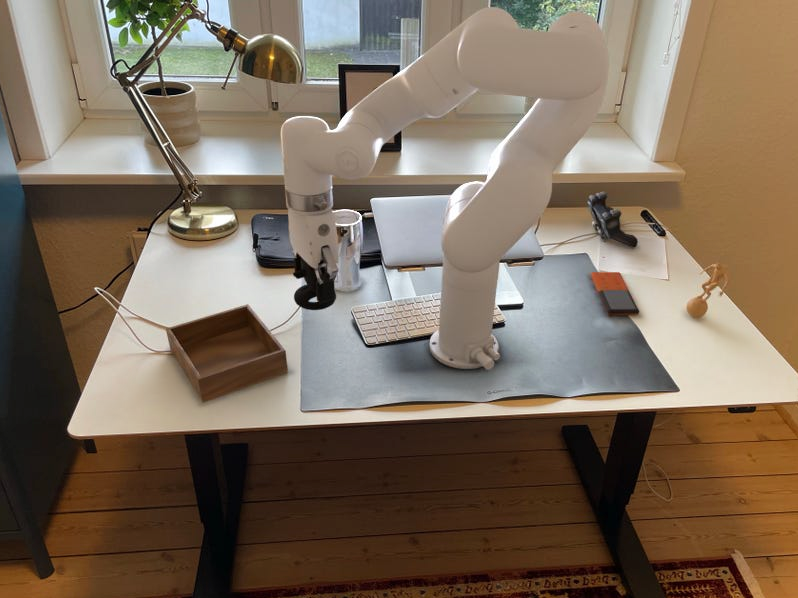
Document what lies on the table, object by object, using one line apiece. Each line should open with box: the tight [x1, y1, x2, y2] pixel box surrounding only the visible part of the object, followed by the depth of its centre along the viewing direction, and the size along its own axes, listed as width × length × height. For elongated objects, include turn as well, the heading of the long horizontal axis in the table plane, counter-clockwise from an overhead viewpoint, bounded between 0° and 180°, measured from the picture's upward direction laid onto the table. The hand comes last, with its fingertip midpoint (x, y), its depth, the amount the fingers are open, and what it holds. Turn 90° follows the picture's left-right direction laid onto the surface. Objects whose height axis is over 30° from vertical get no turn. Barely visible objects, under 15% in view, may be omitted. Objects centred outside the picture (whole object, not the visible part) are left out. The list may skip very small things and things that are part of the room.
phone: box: [590, 271, 640, 316], centre depth 152 cm, size 6×1×15 cm
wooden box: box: [165, 303, 289, 403], centre depth 129 cm, size 16×15×5 cm
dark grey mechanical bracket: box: [586, 191, 639, 249], centre depth 172 cm, size 16×7×10 cm, turn 10°
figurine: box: [685, 262, 730, 318], centre depth 145 cm, size 8×6×12 cm
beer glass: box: [333, 209, 364, 293], centre depth 148 cm, size 7×7×15 cm
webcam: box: [292, 257, 337, 311], centre depth 130 cm, size 8×8×10 cm
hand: (314, 287), depth 131 cm, fingers closed on webcam, 7 cm apart
